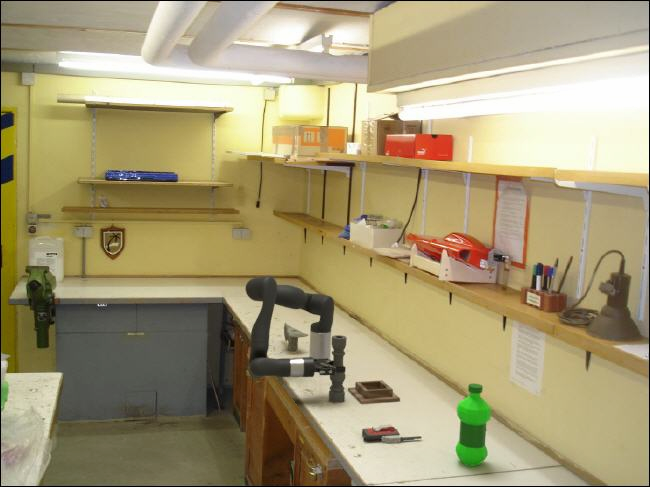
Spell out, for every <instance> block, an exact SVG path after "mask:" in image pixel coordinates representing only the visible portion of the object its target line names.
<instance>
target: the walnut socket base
mask: <svg viewBox="0 0 650 487" xmlns="http://www.w3.org/2000/svg"><path fill="white" fill-rule="evenodd" d="M354 382H355V384H354V386H355V387H347V392H349V393H350V394H351V395H352V396H353V398H355V399H356V401H358V402H359V404H361V405H363V404H364V405H365V404H366V405H369V404H380V403H393V402H395V403H396V402H397V403H398V402H401V397H399V396H398V394H396V393H395V392H394V389H393V388H392V387H391V386H389V385H388V383H386V382H385V381H384V380H382V379H381V380H369V381H368V380H367V381H365V380H364V381H354Z"/></svg>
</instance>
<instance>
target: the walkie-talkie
mask: <svg viewBox="0 0 650 487" xmlns="http://www.w3.org/2000/svg"><path fill="white" fill-rule="evenodd" d="M400 435H401V434H400V432H399V431H398V428H395V427H394V426H393V425H392V424H380V425H379V426H377V427H375V426H372V427H371V428H370V427H367V428H362V429H361V436H362V438H363V442H367V443H377V442H378V443H380V442H381V443H385V444H401V442H404V441H414V440H419V439H422V438H423V437H422V436H419V435H415V436H405V437H404V436H400Z"/></svg>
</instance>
